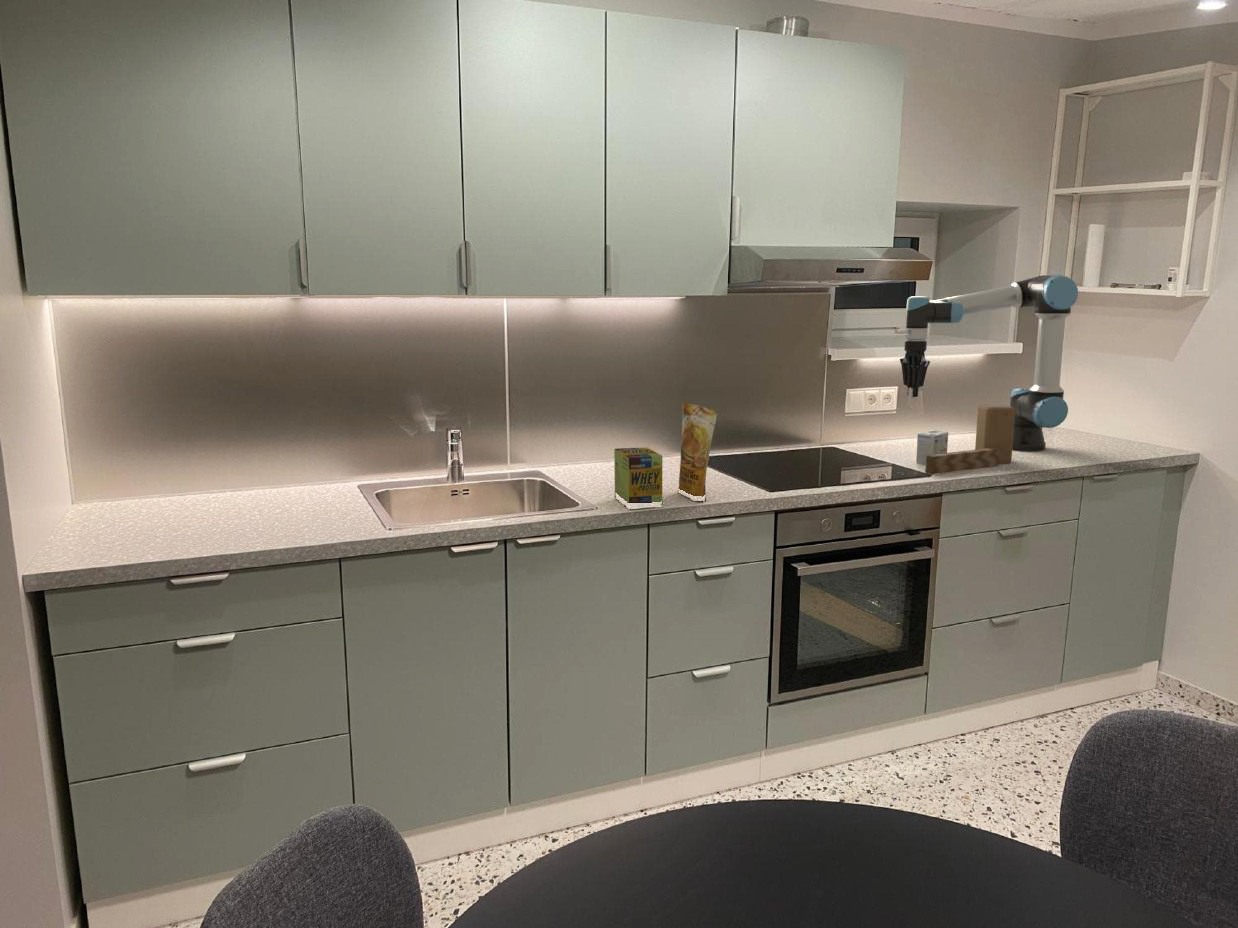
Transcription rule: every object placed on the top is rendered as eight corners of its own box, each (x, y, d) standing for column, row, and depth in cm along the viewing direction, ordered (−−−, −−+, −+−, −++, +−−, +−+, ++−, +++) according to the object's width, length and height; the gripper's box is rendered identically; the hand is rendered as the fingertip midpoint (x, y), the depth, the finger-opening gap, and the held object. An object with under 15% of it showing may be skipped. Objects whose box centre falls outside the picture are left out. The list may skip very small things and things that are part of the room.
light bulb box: (929, 458, 336) (931, 429, 333) (947, 461, 331) (949, 431, 329) (915, 463, 328) (916, 433, 326) (933, 465, 323) (934, 435, 321)
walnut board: (991, 464, 324) (992, 447, 323) (997, 466, 322) (999, 449, 320) (925, 472, 312) (926, 455, 311) (932, 474, 309) (933, 456, 308)
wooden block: (1012, 464, 325) (1016, 407, 321) (983, 464, 325) (987, 407, 321) (1001, 458, 335) (1005, 403, 331) (973, 458, 335) (977, 403, 331)
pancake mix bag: (690, 489, 291) (691, 400, 286) (718, 502, 274) (719, 408, 268) (671, 491, 289) (671, 402, 283) (698, 504, 271) (699, 410, 266)
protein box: (628, 510, 265) (628, 457, 262) (614, 498, 280) (613, 448, 277) (663, 507, 268) (663, 455, 265) (647, 496, 283) (647, 446, 280)
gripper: (895, 339, 335) (891, 404, 340) (920, 341, 323) (916, 408, 328) (911, 338, 338) (907, 402, 343) (937, 340, 327) (933, 407, 331)
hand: (912, 405), depth 335 cm, fingers closed
